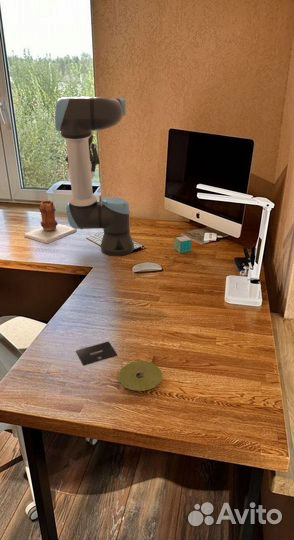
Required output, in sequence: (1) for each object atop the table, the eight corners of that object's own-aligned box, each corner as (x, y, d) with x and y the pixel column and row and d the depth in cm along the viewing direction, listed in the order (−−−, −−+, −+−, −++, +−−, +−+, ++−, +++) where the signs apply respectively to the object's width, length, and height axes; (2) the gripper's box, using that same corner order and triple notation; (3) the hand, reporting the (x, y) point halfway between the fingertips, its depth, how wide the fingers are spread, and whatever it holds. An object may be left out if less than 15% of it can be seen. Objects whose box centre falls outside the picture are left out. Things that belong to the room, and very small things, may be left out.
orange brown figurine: (40, 227, 203) (36, 198, 197) (56, 225, 206) (53, 197, 199) (43, 237, 191) (39, 207, 184) (60, 235, 193) (57, 205, 187)
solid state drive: (117, 356, 113) (117, 354, 112) (83, 366, 109) (83, 364, 108) (108, 343, 118) (108, 341, 118) (76, 352, 114) (75, 350, 114)
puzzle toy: (180, 253, 177) (180, 241, 175) (174, 249, 182) (174, 237, 179) (191, 251, 179) (192, 239, 177) (185, 247, 184) (185, 235, 181)
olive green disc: (170, 384, 102) (171, 378, 101) (134, 403, 96) (134, 396, 95) (145, 361, 110) (145, 355, 109) (110, 377, 104) (110, 371, 103)
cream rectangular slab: (76, 231, 203) (76, 228, 202) (47, 243, 188) (46, 240, 187) (54, 225, 211) (54, 222, 210) (24, 236, 196) (24, 233, 196)
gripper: (110, 136, 192) (104, 180, 194) (72, 135, 204) (66, 177, 207) (100, 131, 185) (94, 177, 188) (61, 131, 198) (56, 174, 200)
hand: (80, 177), depth 197 cm, fingers open, 13 cm apart
